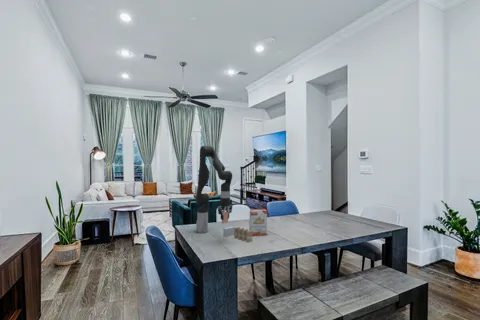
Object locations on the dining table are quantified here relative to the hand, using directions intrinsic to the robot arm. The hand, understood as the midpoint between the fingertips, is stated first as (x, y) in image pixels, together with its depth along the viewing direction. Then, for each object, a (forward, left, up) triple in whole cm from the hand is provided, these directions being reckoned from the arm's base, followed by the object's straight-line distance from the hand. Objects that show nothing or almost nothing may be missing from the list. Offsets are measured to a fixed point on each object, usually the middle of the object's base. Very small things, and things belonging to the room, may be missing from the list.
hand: (224, 219), depth 191 cm
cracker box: (+21, +26, -17) cm, 38 cm away
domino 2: (+6, +13, -17) cm, 22 cm away
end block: (-2, +18, -17) cm, 25 cm away
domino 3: (+10, +10, -17) cm, 23 cm away
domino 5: (+18, +6, -17) cm, 26 cm away
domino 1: (0, 0, -3) cm, 3 cm away
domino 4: (+14, +8, -17) cm, 24 cm away
